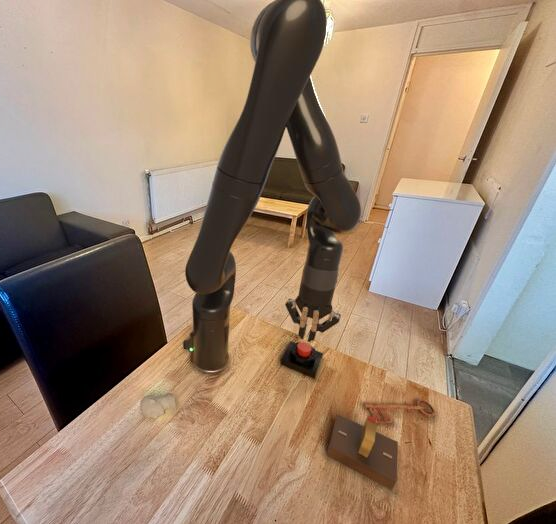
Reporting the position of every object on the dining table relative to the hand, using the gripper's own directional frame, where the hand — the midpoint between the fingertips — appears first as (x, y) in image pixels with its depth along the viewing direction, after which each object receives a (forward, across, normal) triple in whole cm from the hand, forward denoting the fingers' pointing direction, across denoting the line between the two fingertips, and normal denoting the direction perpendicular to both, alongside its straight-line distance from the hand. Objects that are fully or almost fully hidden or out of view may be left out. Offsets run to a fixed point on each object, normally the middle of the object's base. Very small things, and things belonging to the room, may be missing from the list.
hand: (306, 338), depth 73 cm
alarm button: (+5, 0, 0) cm, 5 cm away
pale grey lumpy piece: (+8, -23, -32) cm, 40 cm away
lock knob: (+5, +17, -17) cm, 25 cm away
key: (+8, +23, -3) cm, 25 cm away
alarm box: (+8, 0, 0) cm, 8 cm away
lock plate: (+8, +16, -18) cm, 25 cm away
